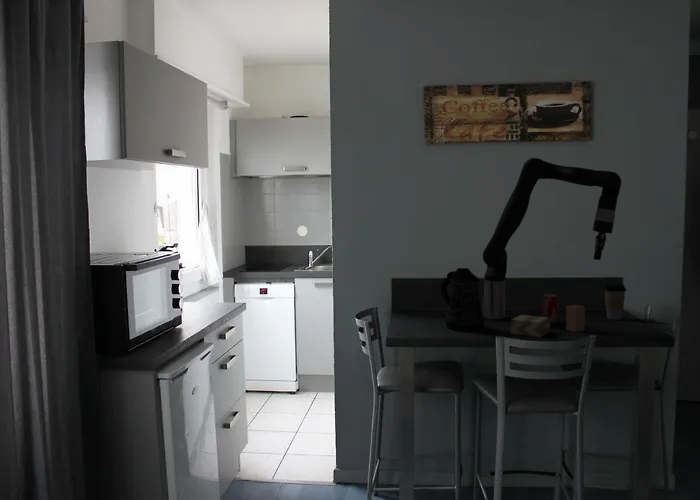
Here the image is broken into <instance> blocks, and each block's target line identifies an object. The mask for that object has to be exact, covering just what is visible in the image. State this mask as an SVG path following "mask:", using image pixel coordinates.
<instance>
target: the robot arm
mask: <svg viewBox="0 0 700 500" xmlns="http://www.w3.org/2000/svg"><path fill="white" fill-rule="evenodd" d="M518 177H519V178H518V180H517V183H516V185H515V187H514V189H513V191H512V193H511V195H510V197H509V198H508V201H507V203H506V204H505V206H504V209H503V210H502V213H501V215H500V217H499V220H498V222H497V225H496V228H495V230H494V232H493V235H492V236H491V238H490V240H489V241H488V242H487V244H486V247H485V248H484V250H483V252H482V260H483V262H484V264H485V265H486V271H485V272H484V278H483V279H484V280H483V281H484V284H483V285H484V291H483V292H484V295H483V297H482V314H483V317H484V319H487V320H503V319H505V318H506V275H507V271H508V270H507V269H508V253H507V249H506V247H507V245H508V242H509V241H510V239H511V238H512V237H513V235H514V234H515V232H516V231H517V230H518V229H519V227H520V225H521V223H522V222H523V220H524V218H525V216H526V213H527V211H528V209H529V204H530V199H531V195H532V192H533V190H534V188H535V186H536V184H537V183H538V181H539V180H556V181H561V182H567V183H569V184H575V185H578V186H584V187H585V186H587V187H599V188H602V189H601V195H600V196H599V199H598V203H597V207H596V212H595V214H594V221H593V226H592V231H593V232H597V235H596V236H595V241H594V253H593V259H594V260H596V261H601V259H602V254H603V251H604V248H605V246H606V242H607V234H612V233H613V229H614V223H615V219H616V210H617V209H616V208H617V204H618V199H619V198H618V197H619V195H620V191H621V187H622V178H621V177H620V175H619V173H617V172H614V171H610V170H596V169H590V168H585V167H578V166H566V165H559V164H555V163H551V162H548V161H545V160H543V159H542V158H537V157H531V158H529V159H527V160H526V161H525V162H524V163H523V165H522V168H521V172H520V174H519V176H518Z"/></svg>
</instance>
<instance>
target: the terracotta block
mask: <svg viewBox="0 0 700 500" xmlns="http://www.w3.org/2000/svg"><path fill="white" fill-rule="evenodd" d="M565 313H566V319H565V322H566V323H565V330H566V331H570V332H574V333H577V332H585V322H586V321H585V318H586V317H585V316H586V306H583V305H579V304H572V305H566V310H565Z"/></svg>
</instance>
